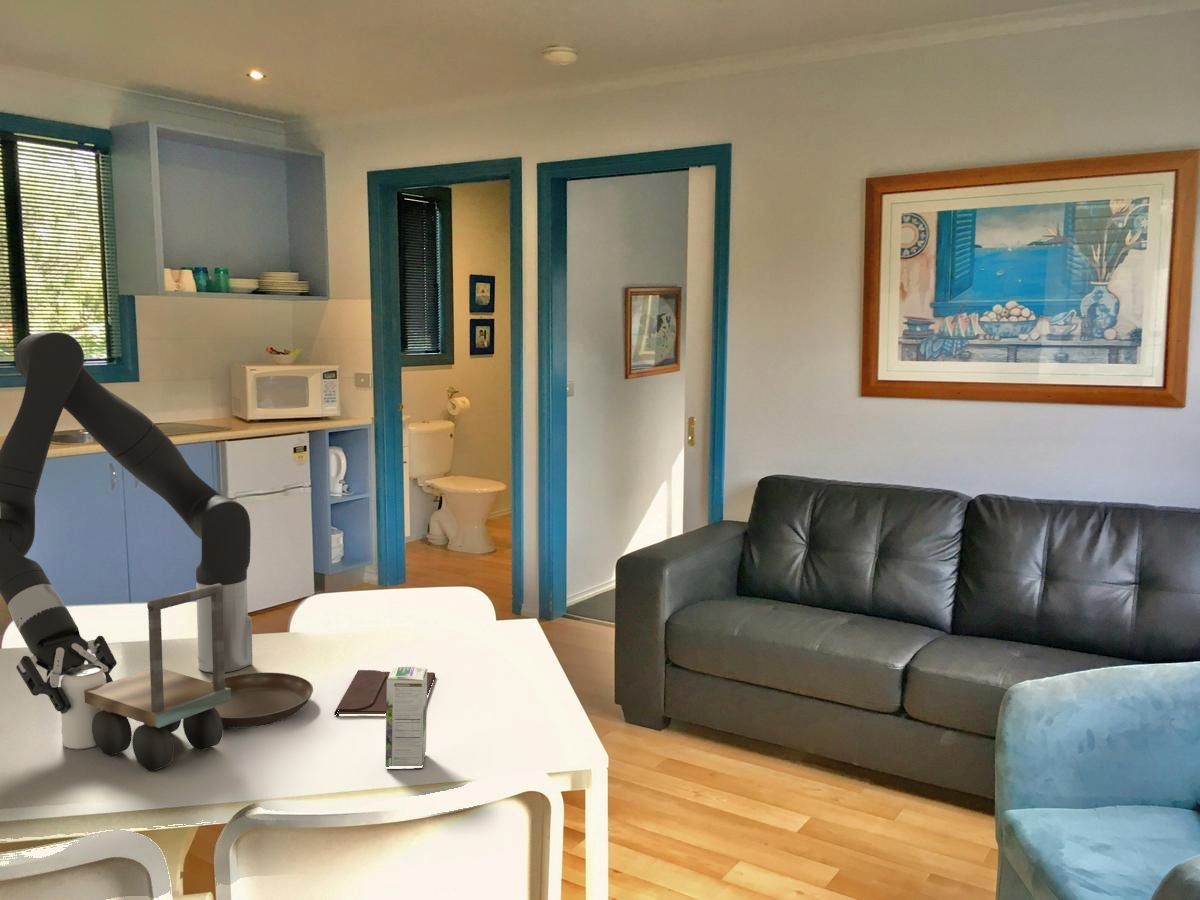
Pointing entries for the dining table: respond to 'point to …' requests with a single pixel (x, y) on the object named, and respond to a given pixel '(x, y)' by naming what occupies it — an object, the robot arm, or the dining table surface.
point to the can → (80, 705)
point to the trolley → (163, 695)
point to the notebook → (369, 693)
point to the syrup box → (406, 716)
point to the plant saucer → (263, 699)
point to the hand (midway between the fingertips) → (89, 702)
